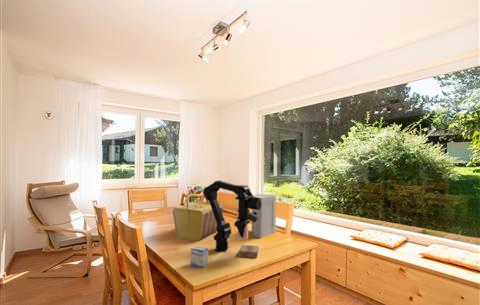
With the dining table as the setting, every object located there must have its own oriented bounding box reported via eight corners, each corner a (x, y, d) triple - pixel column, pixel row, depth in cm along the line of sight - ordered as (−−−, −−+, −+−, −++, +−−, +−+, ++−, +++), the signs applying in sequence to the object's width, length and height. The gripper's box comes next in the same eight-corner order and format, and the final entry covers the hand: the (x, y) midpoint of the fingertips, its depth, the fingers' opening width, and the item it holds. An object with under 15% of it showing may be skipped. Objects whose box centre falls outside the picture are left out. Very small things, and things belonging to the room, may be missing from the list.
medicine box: (190, 265, 119) (190, 248, 119) (194, 262, 123) (195, 245, 124) (203, 268, 116) (204, 250, 117) (208, 264, 120) (208, 247, 121)
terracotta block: (237, 239, 131) (237, 228, 132) (239, 236, 136) (239, 226, 137) (246, 240, 130) (246, 229, 131) (248, 237, 135) (248, 226, 136)
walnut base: (238, 256, 132) (239, 251, 132) (241, 249, 141) (241, 244, 142) (256, 257, 130) (256, 252, 130) (258, 251, 140) (258, 246, 140)
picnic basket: (195, 227, 188) (196, 189, 190) (224, 231, 178) (224, 191, 179) (170, 237, 162) (171, 193, 163) (201, 243, 151) (202, 196, 152)
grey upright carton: (260, 228, 188) (260, 193, 189) (275, 232, 178) (276, 195, 179) (244, 233, 173) (245, 195, 174) (260, 238, 163) (261, 197, 164)
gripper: (255, 212, 123) (254, 242, 123) (259, 205, 142) (259, 231, 141) (234, 210, 126) (233, 240, 125) (241, 204, 144) (240, 230, 143)
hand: (242, 235), depth 133 cm, fingers closed on terracotta block, 5 cm apart
